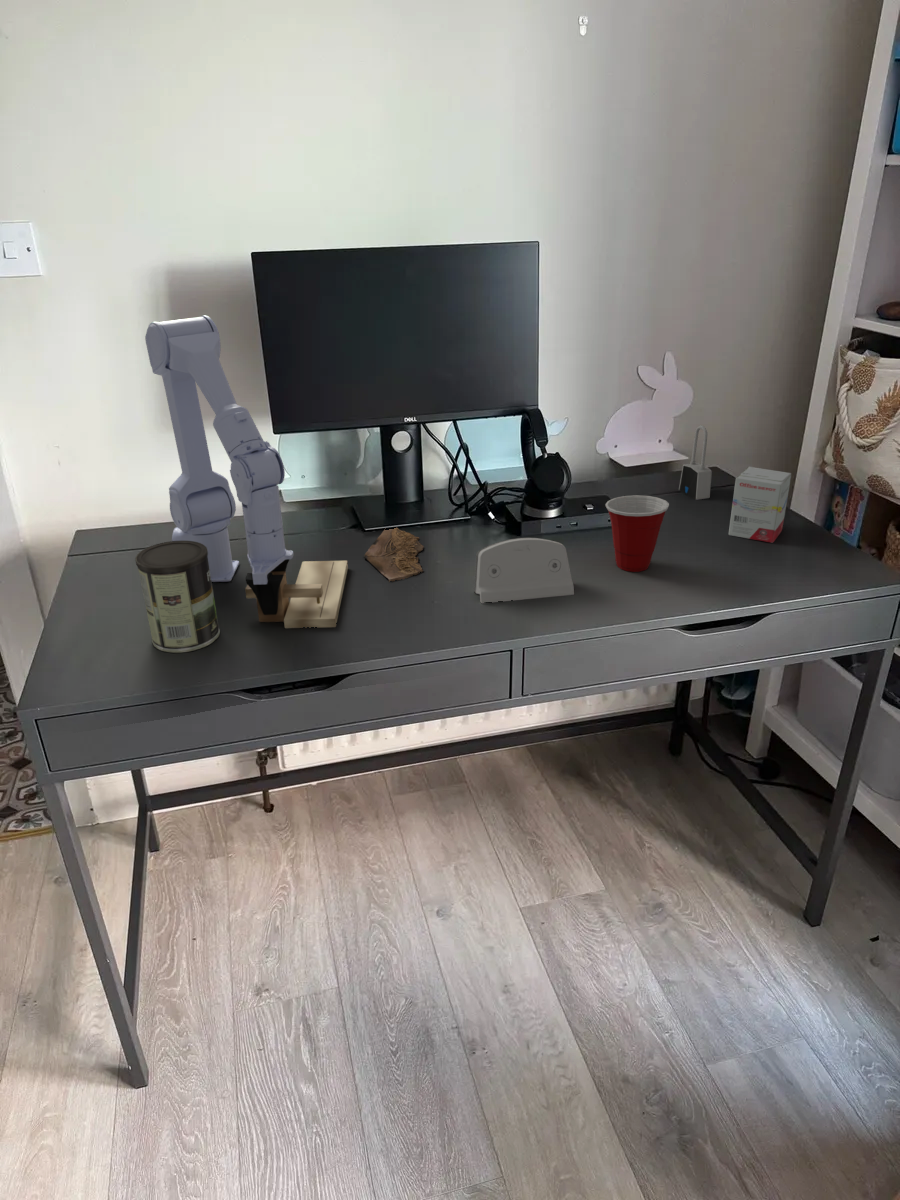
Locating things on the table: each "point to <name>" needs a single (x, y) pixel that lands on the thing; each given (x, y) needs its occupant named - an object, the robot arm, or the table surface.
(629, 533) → the plastic cup
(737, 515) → the ink box
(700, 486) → the padlock
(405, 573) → the wooden fragment
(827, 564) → the table surface
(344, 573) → the board
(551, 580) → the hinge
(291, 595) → the gauge
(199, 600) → the coffee can
